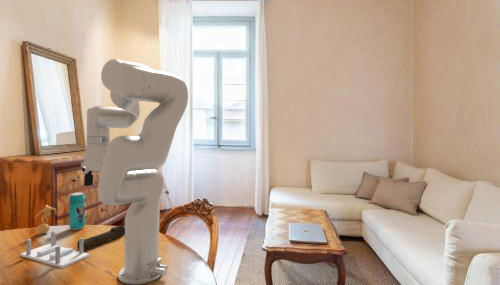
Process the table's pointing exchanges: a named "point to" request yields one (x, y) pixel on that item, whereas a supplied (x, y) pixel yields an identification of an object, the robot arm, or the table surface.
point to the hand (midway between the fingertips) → (97, 186)
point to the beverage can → (77, 211)
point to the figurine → (43, 227)
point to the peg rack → (55, 253)
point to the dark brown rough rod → (103, 237)
